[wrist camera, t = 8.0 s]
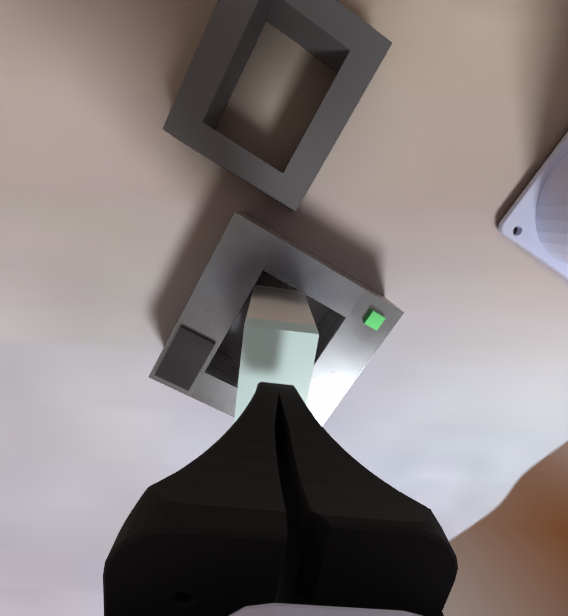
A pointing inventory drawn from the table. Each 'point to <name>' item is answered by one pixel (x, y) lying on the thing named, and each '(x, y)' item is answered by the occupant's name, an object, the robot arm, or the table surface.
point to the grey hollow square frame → (229, 65)
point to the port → (233, 293)
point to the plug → (276, 343)
